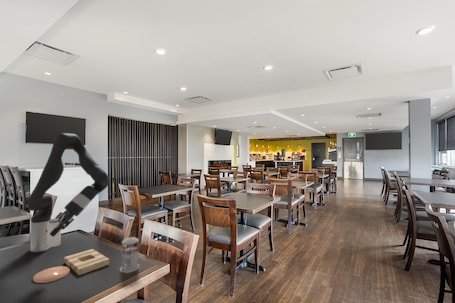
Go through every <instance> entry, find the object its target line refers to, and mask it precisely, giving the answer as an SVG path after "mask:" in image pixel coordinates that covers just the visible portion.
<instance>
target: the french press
mask: <svg viewBox="0 0 455 303" xmlns="http://www.w3.org/2000/svg"><path fill="white" fill-rule="evenodd" d="M133 221H134V220H133V218H129V219H128V222H130V223H129V224H130V225H129V230H130V232H129V235H130V236H129V237H126V238H124V239H123V240H122V241H121V244H120V247H122V245H123V246H124V247H123V249H122V251H120V253H121V267H120V268H119V271H120V272H121V273H125V274H127V273H128V274H129V273H133V271H134V272H136V271H137V269H138V268H139V265H140V264H139V247H138V246H133V244H137V243H139V241H140V239H139V238H137V237H134V236H131V235H132V234H131V233H132V232H131V231H132V226H131V225H132V222H133ZM128 245H129V246H128ZM125 246H126V247H125ZM139 269H140V268H139ZM139 269H138V270H139ZM135 270H136V271H135Z"/></svg>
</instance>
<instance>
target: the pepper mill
mask: <svg viewBox="0 0 455 303" xmlns="http://www.w3.org/2000/svg"><path fill="white" fill-rule="evenodd" d="M59 221H60V220H59V219H55V218H52V219H51V218H50V220H49V222H48V223H47V247H50V248H54V247H58V246H60V245H61V244H62V243H61V241H62V240H61V238H62V237H61V236H62V235H61V233H62V232H61V231H62V230H60V231H59V232H58V233H57V234H56V235H55V236H51V235H50V233H51V232H52V231H53V230H54V229H55V228H57V225H58V224H59Z"/></svg>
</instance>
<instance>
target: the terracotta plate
mask: <svg viewBox="0 0 455 303" xmlns="http://www.w3.org/2000/svg"><path fill="white" fill-rule="evenodd" d="M70 272H71V268H70V267H69V266H62V265H61V266H53V267H49V268H45V269H43V270H41V271H39V272H38V273H37V272H36V274H34V276H33V277H32V278H33V279H32V281H33V282H34V283H37V284H46V283H52V282H55V281H58V280H61V279H63V278H64V277H66V276H68V275H69V274H70Z"/></svg>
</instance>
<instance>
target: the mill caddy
mask: <svg viewBox="0 0 455 303" xmlns="http://www.w3.org/2000/svg"><path fill="white" fill-rule="evenodd" d="M63 258H64V261H63V262H64V264H65V265H66V266H67V267H69V268H70V270H71V269H72V271H73V272H75V273H76V274H77V275H79V276H81V275H84V274H86V273H88V272H92V271H94V270H98V269H101V268H103V267H107V266H109V265H110V258H108V257H107V256H105V255H103V253H100V252H98V251H97V250H95V249H94V248H91V249H88V250H84V251H81V252H77V253H74V254H71V255H67V256H64V257H63Z"/></svg>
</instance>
